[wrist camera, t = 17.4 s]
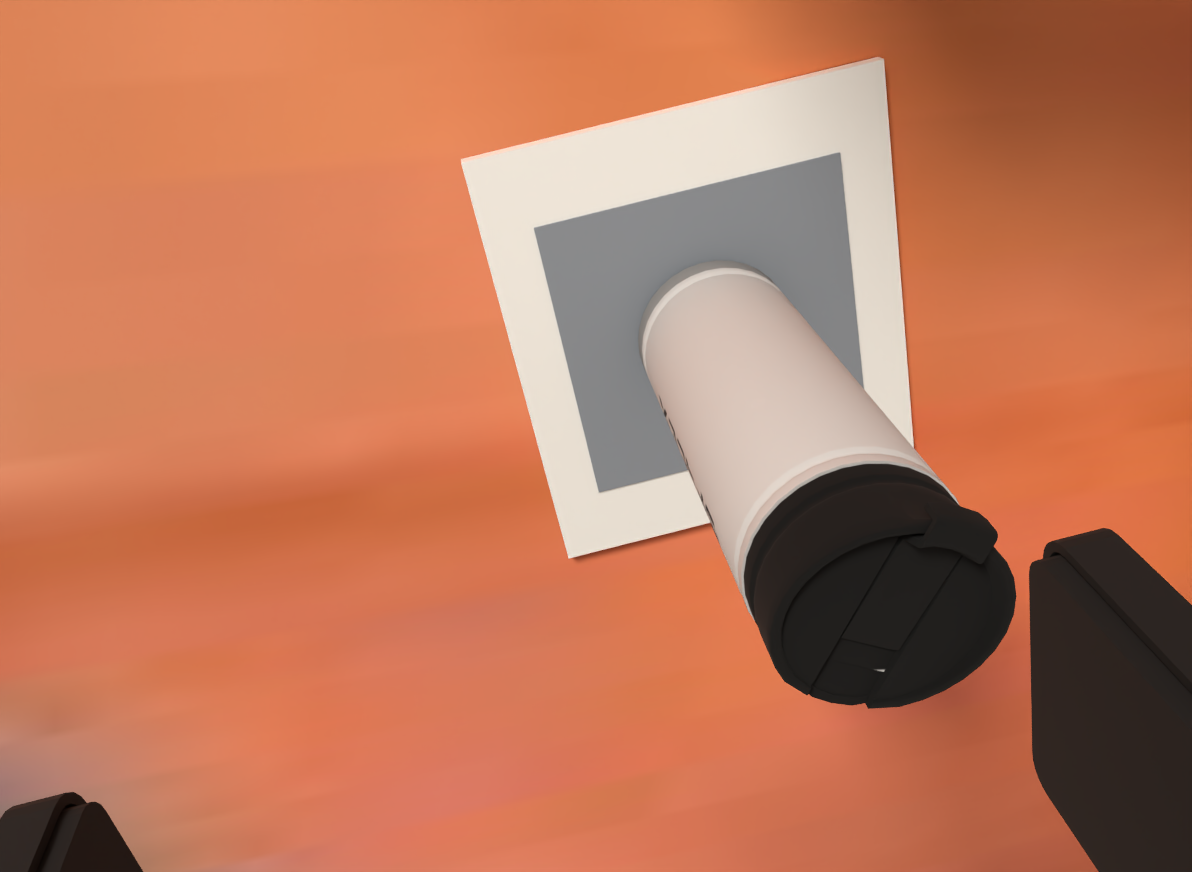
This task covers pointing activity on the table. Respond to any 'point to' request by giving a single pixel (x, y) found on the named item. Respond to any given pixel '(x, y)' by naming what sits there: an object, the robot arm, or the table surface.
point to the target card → (673, 243)
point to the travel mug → (820, 498)
